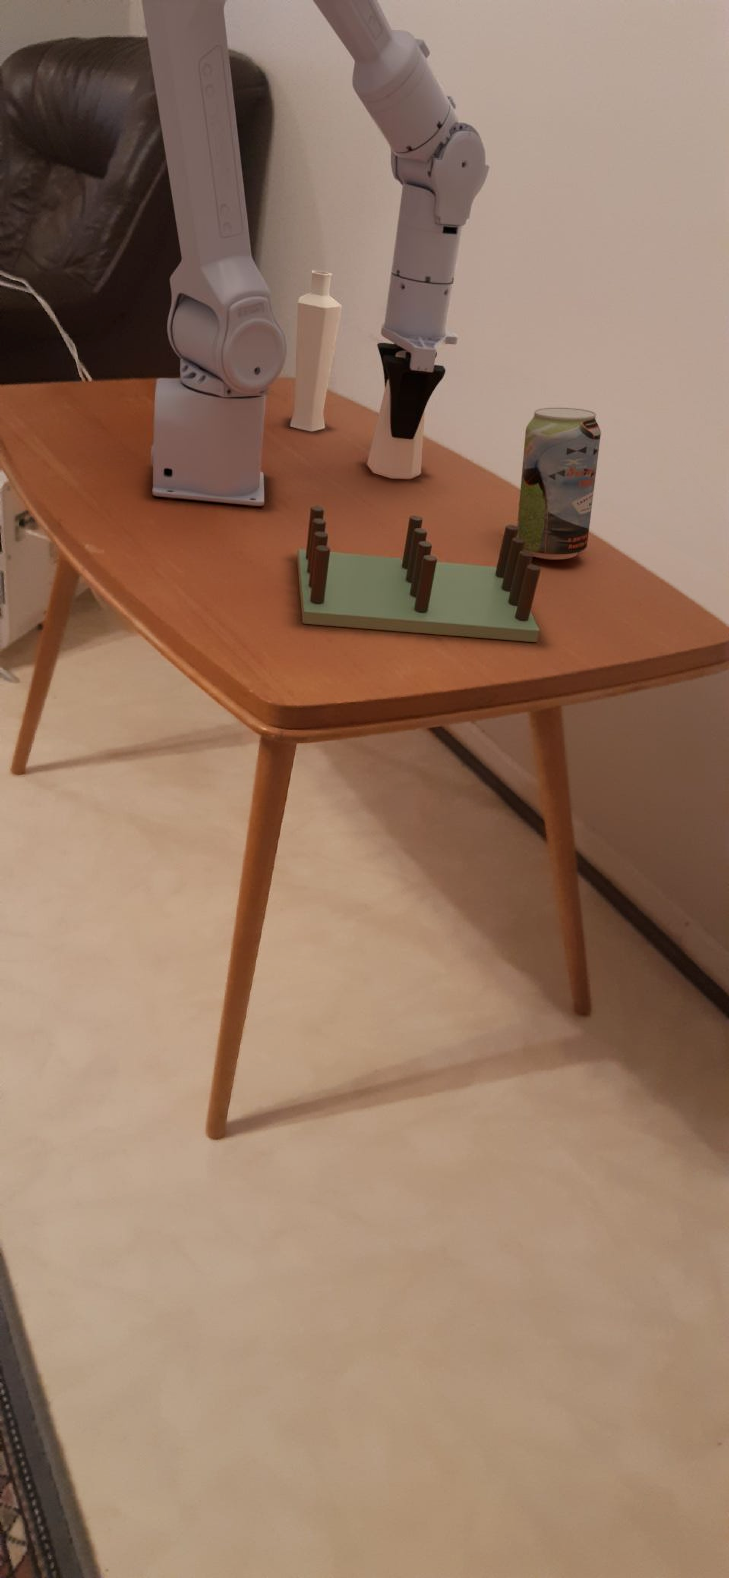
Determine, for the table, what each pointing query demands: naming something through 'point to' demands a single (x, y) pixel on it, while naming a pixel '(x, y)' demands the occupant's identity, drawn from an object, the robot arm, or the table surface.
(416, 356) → the robot arm
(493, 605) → the rack
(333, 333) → the perfume bottle
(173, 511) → the table surface
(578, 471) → the beverage can
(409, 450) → the salt shaker
